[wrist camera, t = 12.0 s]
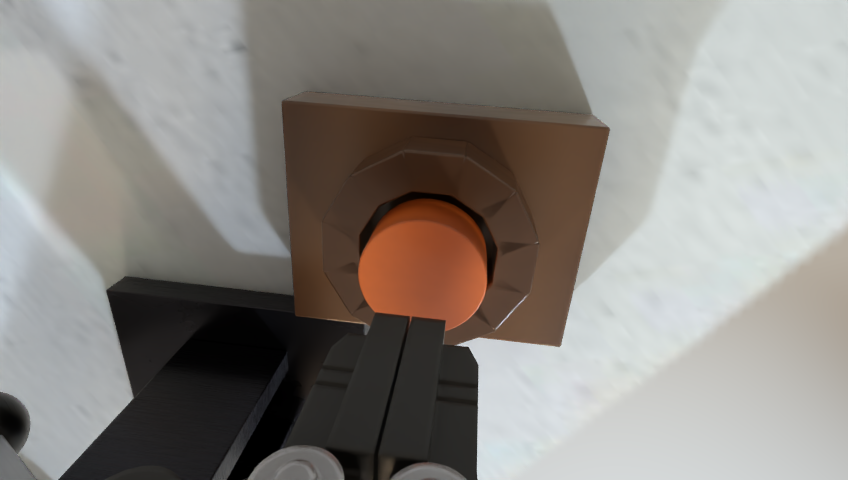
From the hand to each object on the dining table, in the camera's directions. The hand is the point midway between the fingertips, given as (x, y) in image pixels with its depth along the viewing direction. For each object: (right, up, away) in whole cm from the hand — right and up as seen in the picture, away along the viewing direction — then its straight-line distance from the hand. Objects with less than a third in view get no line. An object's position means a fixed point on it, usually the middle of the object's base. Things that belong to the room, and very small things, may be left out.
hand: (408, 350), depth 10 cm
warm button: (0, +2, +4) cm, 5 cm away
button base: (+1, +3, +8) cm, 9 cm away
